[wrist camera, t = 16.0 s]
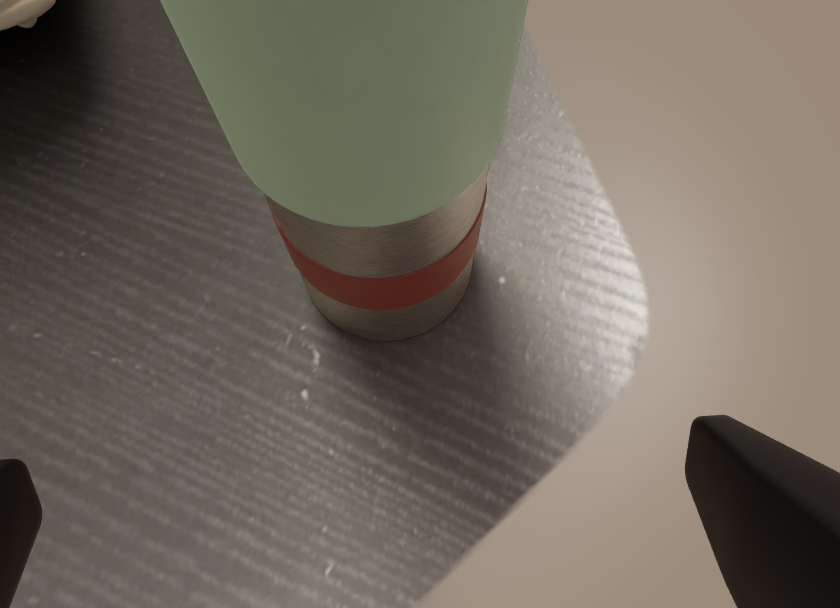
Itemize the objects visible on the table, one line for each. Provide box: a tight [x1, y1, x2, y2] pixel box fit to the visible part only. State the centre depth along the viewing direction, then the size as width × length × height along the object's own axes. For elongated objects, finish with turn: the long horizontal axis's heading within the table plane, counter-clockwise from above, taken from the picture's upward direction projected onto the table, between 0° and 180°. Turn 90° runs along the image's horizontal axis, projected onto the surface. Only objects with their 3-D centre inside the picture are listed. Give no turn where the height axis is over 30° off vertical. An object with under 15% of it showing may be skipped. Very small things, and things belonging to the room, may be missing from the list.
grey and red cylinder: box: [263, 161, 490, 341], centre depth 19 cm, size 6×6×9 cm
